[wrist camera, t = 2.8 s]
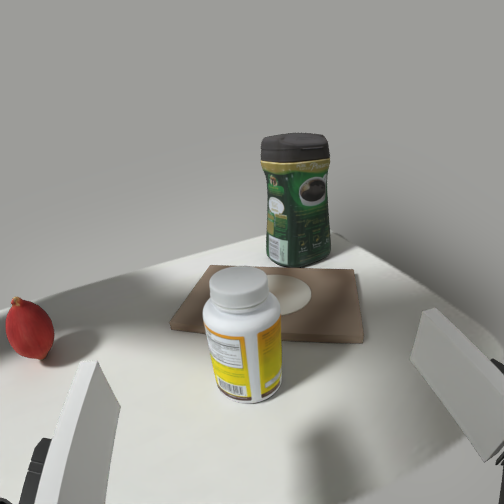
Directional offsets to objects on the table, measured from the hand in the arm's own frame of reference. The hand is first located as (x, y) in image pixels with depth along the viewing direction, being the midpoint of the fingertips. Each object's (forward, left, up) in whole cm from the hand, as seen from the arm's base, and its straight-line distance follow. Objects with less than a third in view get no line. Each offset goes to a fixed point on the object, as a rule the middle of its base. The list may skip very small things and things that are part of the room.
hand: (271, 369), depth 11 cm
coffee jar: (-2, +35, -12) cm, 37 cm away
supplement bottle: (-4, +9, -12) cm, 16 cm away
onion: (-27, +6, -12) cm, 30 cm away
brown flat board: (-4, +22, -11) cm, 25 cm away
